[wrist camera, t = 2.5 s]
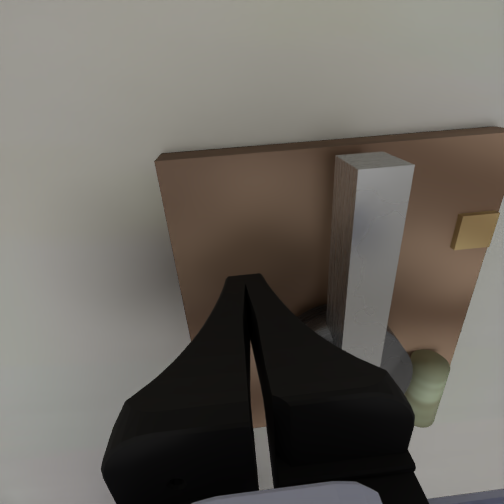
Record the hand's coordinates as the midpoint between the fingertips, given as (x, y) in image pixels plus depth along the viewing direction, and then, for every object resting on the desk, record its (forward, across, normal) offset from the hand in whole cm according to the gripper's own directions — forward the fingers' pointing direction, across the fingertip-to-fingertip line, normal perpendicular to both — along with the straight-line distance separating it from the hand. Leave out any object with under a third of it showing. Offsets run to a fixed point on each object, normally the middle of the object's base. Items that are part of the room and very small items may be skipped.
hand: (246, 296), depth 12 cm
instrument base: (+3, -4, +3) cm, 6 cm away
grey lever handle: (+2, -4, +1) cm, 5 cm away
